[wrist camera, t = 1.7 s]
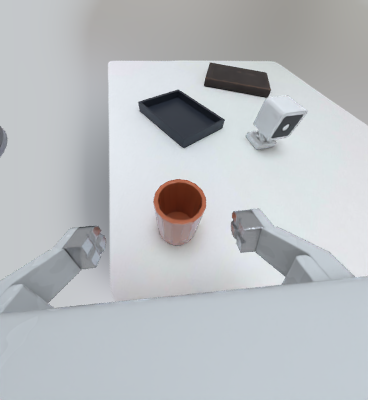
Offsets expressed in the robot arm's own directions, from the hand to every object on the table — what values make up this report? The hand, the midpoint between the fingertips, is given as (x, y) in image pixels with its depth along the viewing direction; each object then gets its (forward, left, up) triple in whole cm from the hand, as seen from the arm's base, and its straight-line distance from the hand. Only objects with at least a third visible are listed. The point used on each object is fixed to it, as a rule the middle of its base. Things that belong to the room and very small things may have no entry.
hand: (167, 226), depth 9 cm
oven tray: (-28, +26, -15) cm, 41 cm away
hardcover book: (-35, +60, -16) cm, 71 cm away
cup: (-4, +5, -15) cm, 16 cm away
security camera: (-8, +37, -16) cm, 41 cm away
